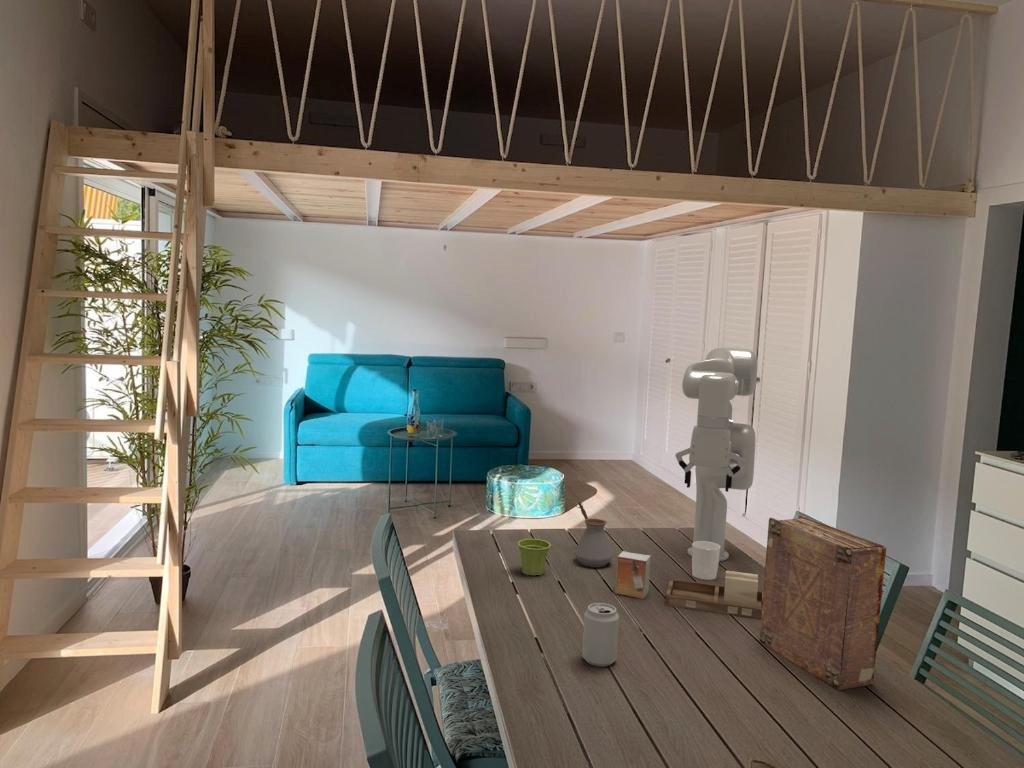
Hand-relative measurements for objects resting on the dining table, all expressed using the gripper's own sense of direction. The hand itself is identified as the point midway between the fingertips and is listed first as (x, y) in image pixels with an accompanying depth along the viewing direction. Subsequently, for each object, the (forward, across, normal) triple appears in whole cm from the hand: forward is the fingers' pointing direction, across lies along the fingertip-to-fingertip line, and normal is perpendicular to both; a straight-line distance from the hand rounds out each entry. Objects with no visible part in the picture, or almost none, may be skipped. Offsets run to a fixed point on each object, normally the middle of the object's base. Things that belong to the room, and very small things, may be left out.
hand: (707, 488), depth 206 cm
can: (+31, +19, +42) cm, 56 cm away
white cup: (+32, 0, -22) cm, 38 cm away
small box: (+32, +18, -2) cm, 36 cm away
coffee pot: (+32, +35, -27) cm, 54 cm away
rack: (+31, -4, -1) cm, 31 cm away
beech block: (+30, -10, -1) cm, 32 cm away
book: (+32, -26, +25) cm, 48 cm away
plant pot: (+31, +47, -7) cm, 57 cm away
